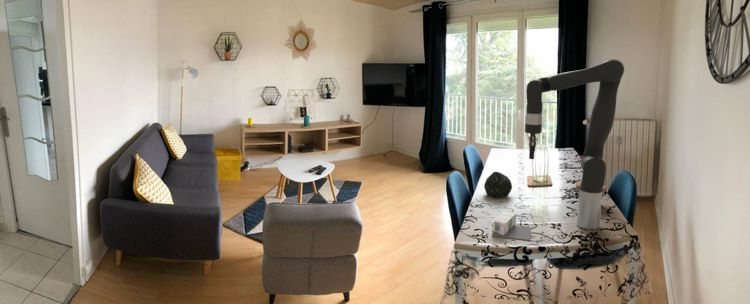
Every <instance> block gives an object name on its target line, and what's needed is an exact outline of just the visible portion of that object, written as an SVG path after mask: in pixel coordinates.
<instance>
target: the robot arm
mask: <svg viewBox="0 0 750 304" xmlns="http://www.w3.org/2000/svg"><path fill="white" fill-rule="evenodd" d="M624 73H625V66H624V64H623V62H622V61H620V60H618V59H614V58H612V59H611V58H610V59H607V60H606V61H604V62H602V63H600V64H597V65H594V66H591V67H588V68H584V69H579V70H573V71H566V72H561V73H557V74H553V75H551V76H546V77H539V78H534V79H531V80H530V81H529V82H528V83H527V85H526V89H525V90H526V91H525V92H526V94H525V95H526V109H525V113H526V114H525V117H524V118H525V120H524V133H526V134H530V135H528V136H527V138H528V151H529V152H528V153H529V156H528V159H529V160H534V159H535V152H536V147H537V141H538V136H537V134H538V135H539V134H542V131H543V108H544V106H543V100H542V99H543V98H542V97H543V93H547V92H553V91H554V92H556V91H561V90H566V89H571V88H573V87H578V86H581V85H585V84H586V85H587V84H591V83H599V86H598V93H597V96H596V97H595V100H594V104H593V107H592V110H591V114H590V119H589V123H588V124H589V126H588V130H587V138H586V139H587V140H586V145H585V147H584V151H583V155H582V156H583V157H582V160H581V159H580V161H581V162H580V167H581V169H582V176H581V177H582V178H581V181H582V182H581V181H580V182H581V184H580V192H579V195H578V205H577V215H576V216H577V217H576V226H577V225H578V226H577V227H578V228H581V227H582V228H581V229H584V228H586V229H585V230H591V229H593V230H596V229H595V228H599V229H600V226H601V225H600V224H601V215H602V207H601V206H602V201H601V198H602V199H603V197H602V189H603V186H604V185H605V182H606V181H605V180H606V173H607V165H606V162H605V161H604V160H603V157H604V155H603V154H604V149H605V144H606V141H607V139H608V137H609V136H610V134H611V131H612V129H613V125H614V121H615V120H614V119H615V116H616V111H617V110H616V108H617V95H618V91H619V86H620V83H621V80H622V77H623V75H624ZM602 156H603V157H602Z"/></svg>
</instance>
